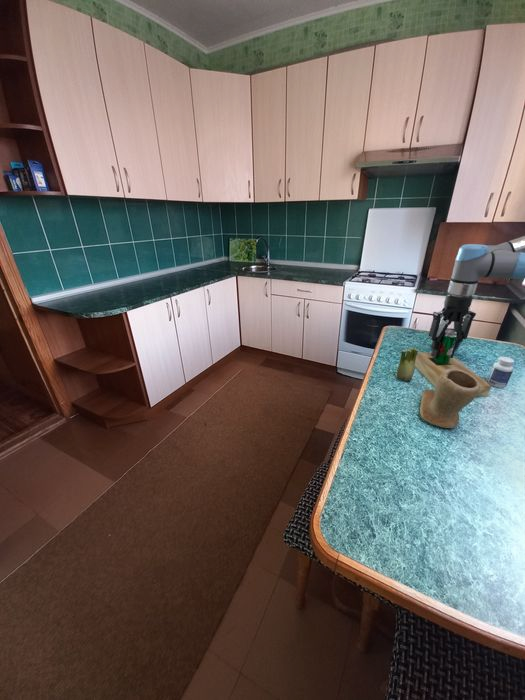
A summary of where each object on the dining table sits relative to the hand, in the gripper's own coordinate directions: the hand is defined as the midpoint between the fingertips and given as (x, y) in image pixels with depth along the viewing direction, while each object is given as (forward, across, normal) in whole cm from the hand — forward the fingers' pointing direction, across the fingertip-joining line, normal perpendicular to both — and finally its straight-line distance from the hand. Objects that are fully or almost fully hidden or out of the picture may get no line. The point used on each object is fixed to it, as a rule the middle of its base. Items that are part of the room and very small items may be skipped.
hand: (441, 356), depth 106 cm
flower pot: (+6, -11, -15) cm, 20 cm away
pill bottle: (+6, -15, +10) cm, 19 cm away
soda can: (+2, 0, 0) cm, 2 cm away
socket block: (+6, 0, +5) cm, 8 cm away
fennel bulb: (+6, +15, +5) cm, 17 cm away
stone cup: (+6, +13, +25) cm, 29 cm away
